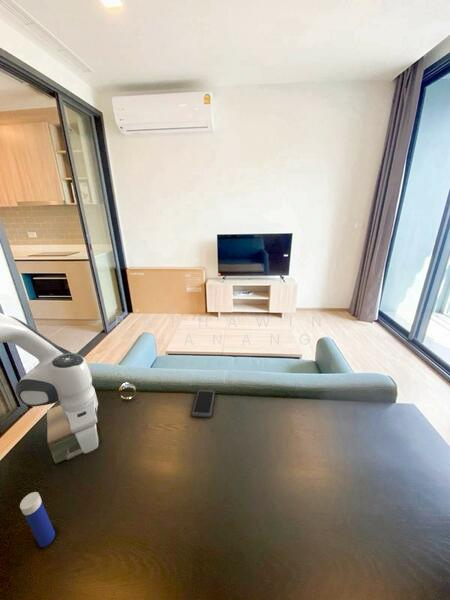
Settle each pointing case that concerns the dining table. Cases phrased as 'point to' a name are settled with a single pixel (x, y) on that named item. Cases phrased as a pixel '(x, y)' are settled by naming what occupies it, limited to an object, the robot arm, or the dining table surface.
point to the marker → (37, 519)
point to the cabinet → (57, 427)
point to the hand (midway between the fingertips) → (90, 439)
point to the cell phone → (203, 403)
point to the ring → (125, 385)
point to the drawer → (66, 448)
